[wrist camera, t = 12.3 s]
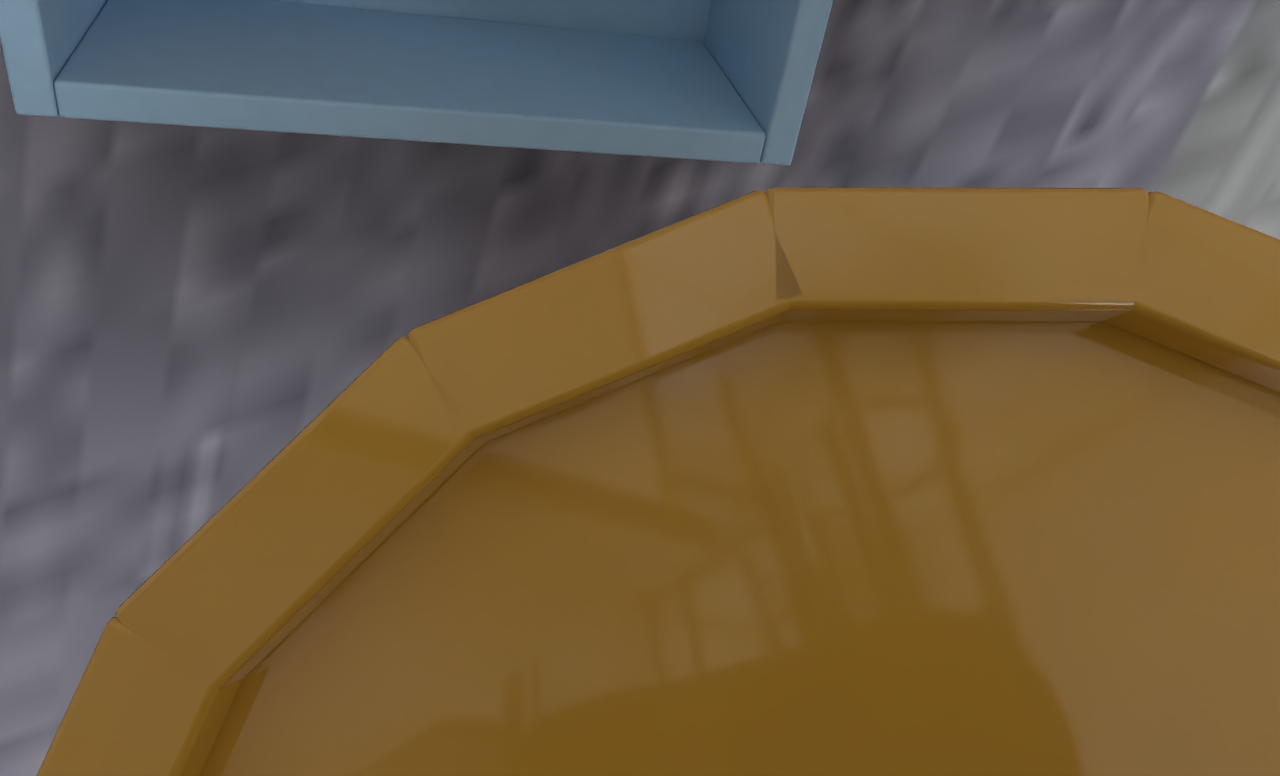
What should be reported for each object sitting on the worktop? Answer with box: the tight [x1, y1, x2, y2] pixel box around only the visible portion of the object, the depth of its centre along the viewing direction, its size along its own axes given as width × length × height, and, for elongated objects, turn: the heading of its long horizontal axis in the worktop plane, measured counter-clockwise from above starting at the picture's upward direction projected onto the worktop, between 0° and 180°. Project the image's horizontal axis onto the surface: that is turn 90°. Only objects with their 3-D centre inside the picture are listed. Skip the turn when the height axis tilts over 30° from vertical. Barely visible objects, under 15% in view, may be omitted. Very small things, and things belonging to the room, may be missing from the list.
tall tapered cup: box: [37, 187, 1280, 776], centre depth 9 cm, size 6×6×12 cm
